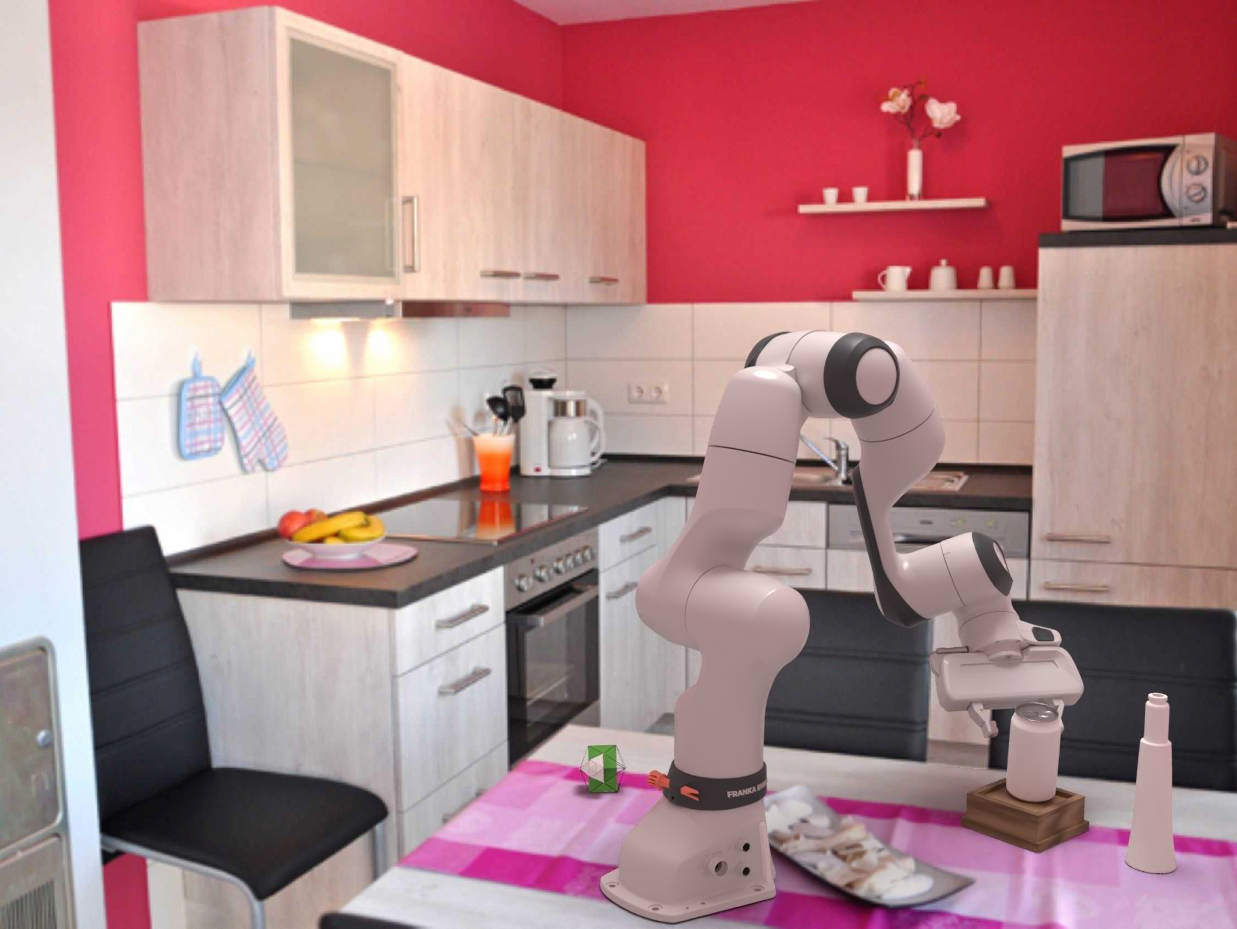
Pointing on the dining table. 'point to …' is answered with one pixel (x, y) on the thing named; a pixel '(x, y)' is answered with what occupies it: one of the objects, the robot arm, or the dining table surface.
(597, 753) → the geometric puzzle
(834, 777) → the dining table surface
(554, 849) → the dining table surface
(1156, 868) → the pink bottle
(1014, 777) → the can
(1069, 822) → the pedestal
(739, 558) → the robot arm
